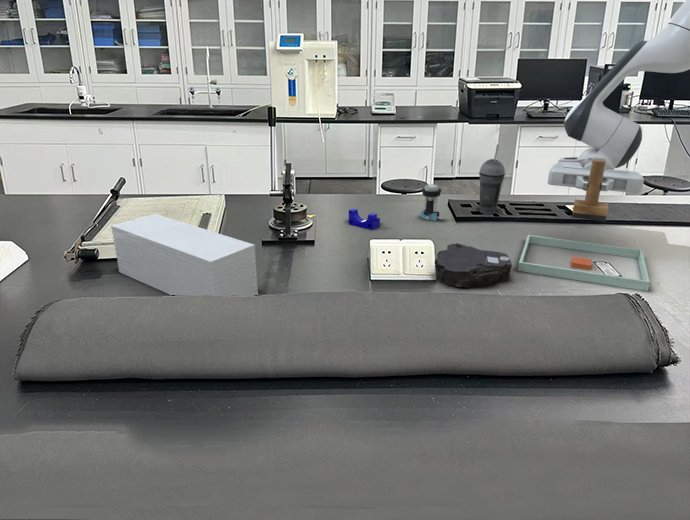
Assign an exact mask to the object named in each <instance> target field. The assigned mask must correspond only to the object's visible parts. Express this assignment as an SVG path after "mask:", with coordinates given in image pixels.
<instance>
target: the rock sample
mask: <svg viewBox="0 0 690 520" xmlns="http://www.w3.org/2000/svg"><path fill="white" fill-rule="evenodd" d="M436 256H437V257H436V258H435V260H434V268H435V269H436V274H437V279H438V280H439V281H440V282H443V283H445V284H447V286H448V285H449V286H451V287H457V288H464V289H465V288H467V289H468V288H474V287H477V288H482V287H489V286H493V285H495V283H504V282H508V281H509V279H510V275H511V270H512V267H513V264H512V261H511V260H512V259H511V258H510V256H509V254H507V253H504V252H502V251H501V252H500V251H494V250H484V249H479V248H476V247H474V246H471V245H466V244H461V243H458V242H455V243H451V244H448V245H447V248H446V249H444V250H439V252H437V254H436Z"/></svg>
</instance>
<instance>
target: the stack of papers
mask: <svg viewBox="0 0 690 520" xmlns="http://www.w3.org/2000/svg"><path fill="white" fill-rule="evenodd" d="M110 226H111V233H112V239H113V243H114V244H113V245H114V250H115V255H116V259H117V260H116V261H117V266H118V272H119V273H121V274H122V275H124V276H127V277H129V278H131V279H134V280H135V281H138V282H140V283H142V284H145V285H147V286H149V287H151V288H154V289H156V290H159V291H160V292H162V293H165V294H167V295H169V296H172V295H238V296H254V295H257V296H258V295H259V291H258V290H259V289H258V288H259V287H258V273H257V259H256V258H257V257H256V244H254V243H250V242H247V241H245V240H240V239H237V238H234V237H231V236H228V235H225V234H221V233H218V232H215V231H212V230H209V229H206V228H203V227H199V226H196V225H192V224H190V223H187V222H183V221H180V220H177V219H173V218H171V217H167V216H164V215H161V214H158V213H153V214H149V215H145V216H141V217H137V218H134V219H130V220H127V221H123V222H120V223H115V224H113V225H110Z"/></svg>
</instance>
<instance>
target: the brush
mask: <svg viewBox="0 0 690 520" xmlns="http://www.w3.org/2000/svg"><path fill="white" fill-rule="evenodd" d="M605 164H606V160H603V159H593V160H592V164H591V169H590V175H589V180H588V187H587V191H585V197H584V199H576V198H575V199H574V201H573V208H572V213H571V218H573V219H582V220H589V221H599V222H606V221H607V216H608V211H609V203H608V202H603V201H599V199H600V194H601V191H600V189H601V184H602V180H603V174H604V169H605Z"/></svg>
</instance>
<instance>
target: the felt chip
mask: <svg viewBox="0 0 690 520" xmlns="http://www.w3.org/2000/svg"><path fill="white" fill-rule="evenodd" d="M592 265H593V263H592V258H588V257H587V258H585V257H579V256H571V264H570V269H571V268H572V269H577V270H578V269H579V270H584V271H592Z"/></svg>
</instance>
